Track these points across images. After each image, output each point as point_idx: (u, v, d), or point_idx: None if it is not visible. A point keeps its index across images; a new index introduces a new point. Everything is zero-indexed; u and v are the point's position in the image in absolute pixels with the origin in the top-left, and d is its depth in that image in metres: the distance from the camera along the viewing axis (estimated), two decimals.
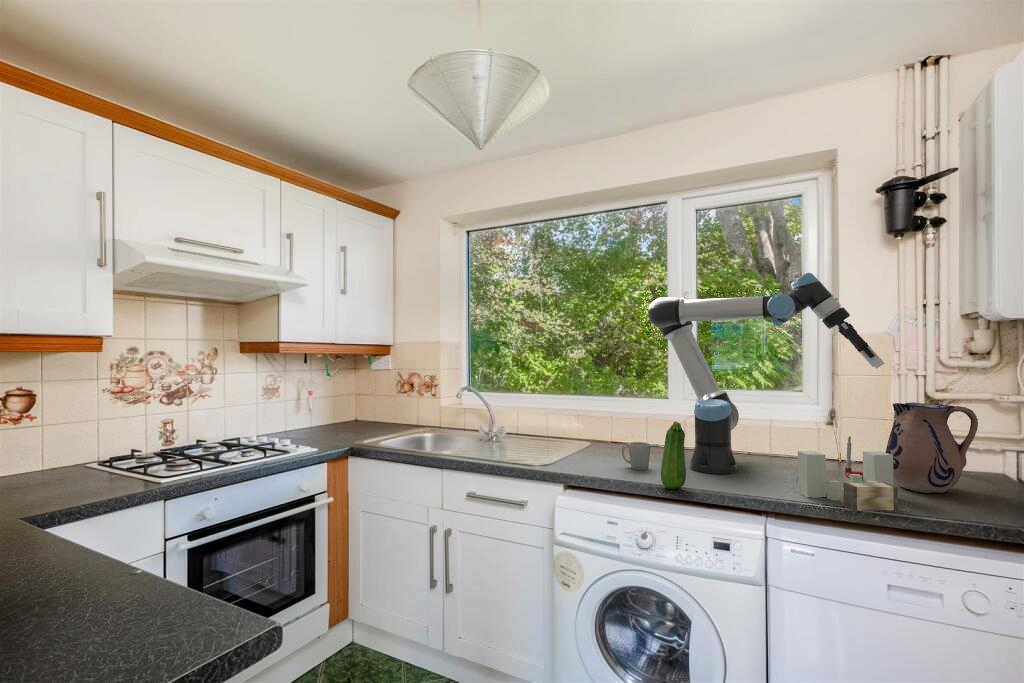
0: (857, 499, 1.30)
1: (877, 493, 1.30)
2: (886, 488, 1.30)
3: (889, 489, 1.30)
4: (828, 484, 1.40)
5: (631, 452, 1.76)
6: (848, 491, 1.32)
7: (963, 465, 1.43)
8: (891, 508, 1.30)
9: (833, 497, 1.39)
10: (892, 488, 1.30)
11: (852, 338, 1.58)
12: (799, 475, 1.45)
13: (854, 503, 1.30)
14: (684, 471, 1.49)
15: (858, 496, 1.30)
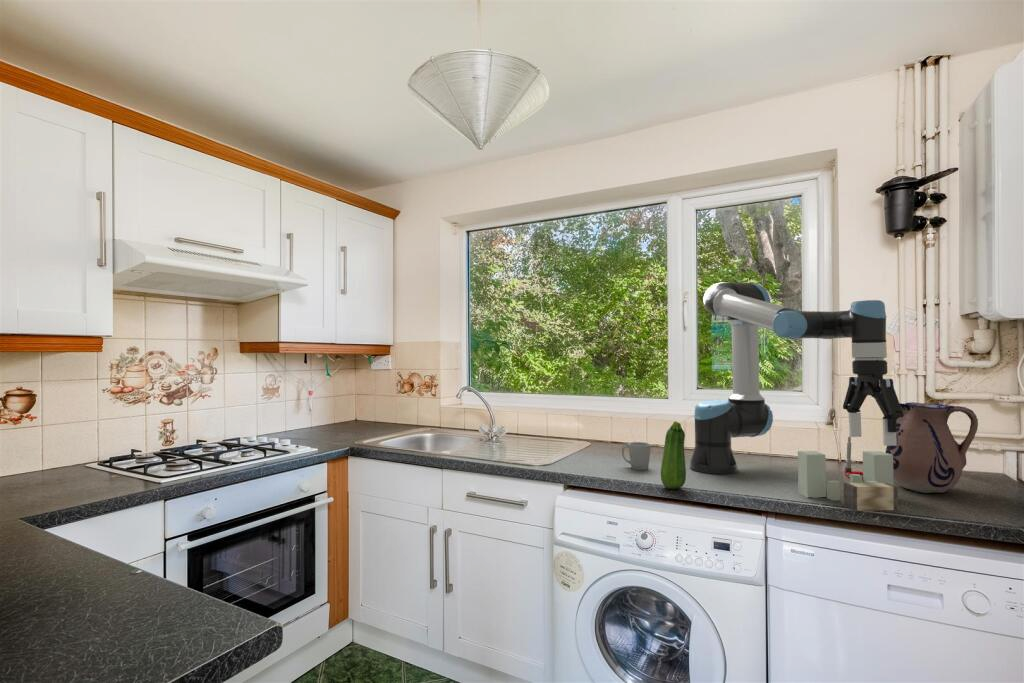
0: (857, 499, 1.30)
1: (877, 493, 1.30)
2: (886, 488, 1.30)
3: (889, 489, 1.30)
4: (828, 484, 1.40)
5: (631, 452, 1.76)
6: (848, 491, 1.32)
7: (963, 465, 1.43)
8: (891, 508, 1.30)
9: (833, 497, 1.39)
10: (892, 488, 1.30)
11: (890, 400, 1.25)
12: (799, 475, 1.45)
13: (854, 503, 1.30)
14: (684, 471, 1.49)
15: (858, 496, 1.30)
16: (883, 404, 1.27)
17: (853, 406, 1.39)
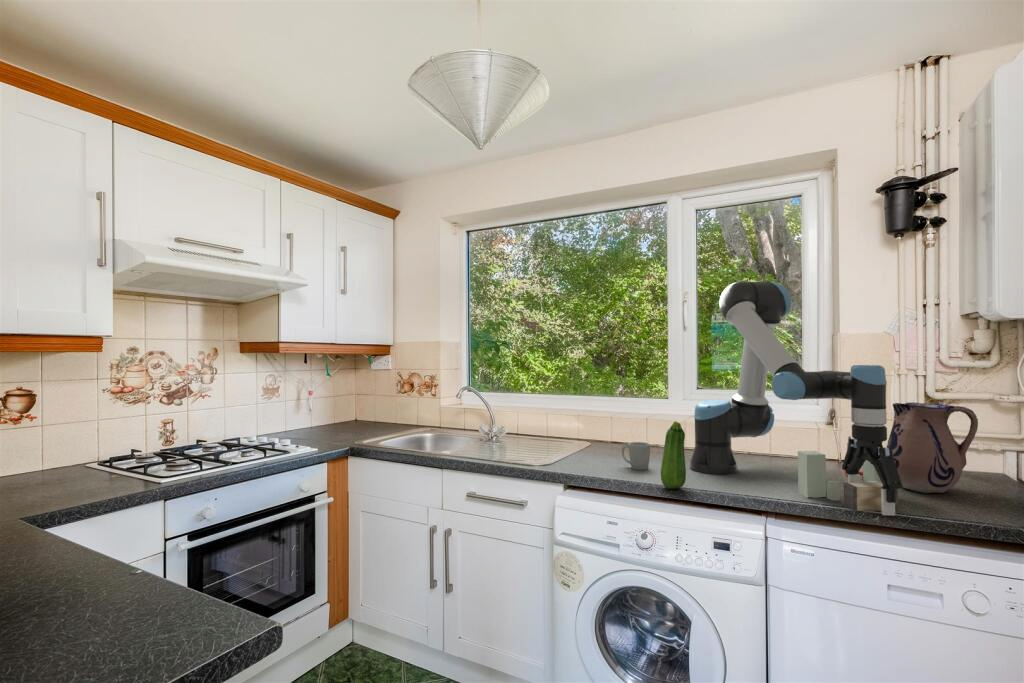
0: (857, 499, 1.30)
1: (877, 493, 1.30)
2: None
3: None
4: (828, 484, 1.40)
5: (631, 452, 1.76)
6: (848, 491, 1.32)
7: (963, 465, 1.43)
8: None
9: (833, 497, 1.39)
10: None
11: (889, 471, 1.24)
12: (799, 475, 1.45)
13: (854, 503, 1.30)
14: (684, 471, 1.49)
15: (858, 496, 1.30)
16: (882, 473, 1.26)
17: (852, 468, 1.38)
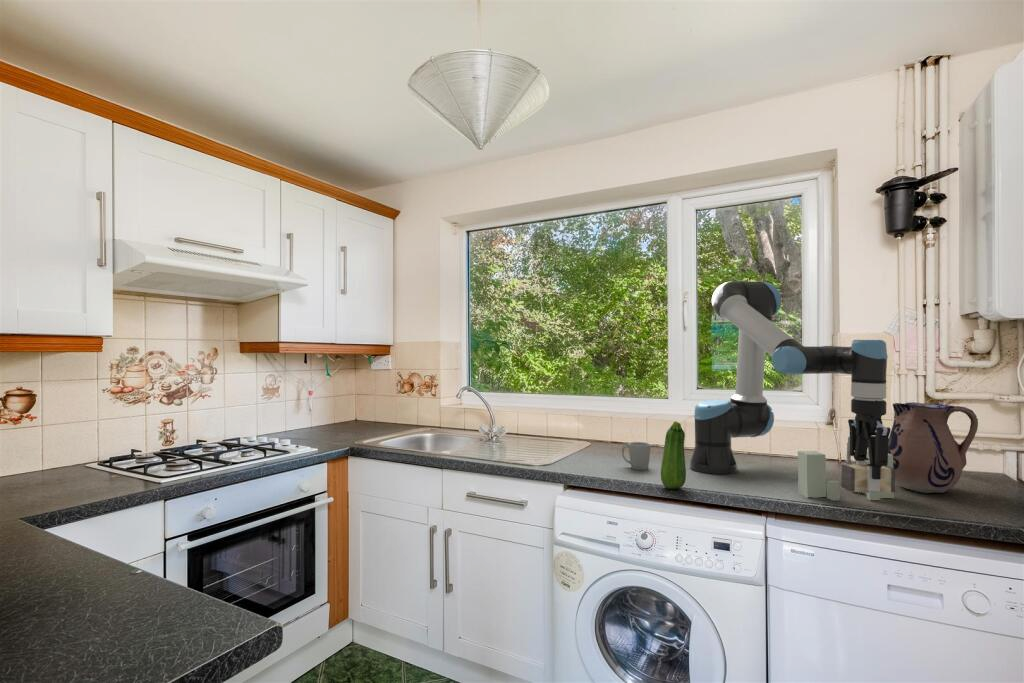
0: (855, 481, 1.31)
1: None
2: (884, 470, 1.30)
3: (887, 471, 1.30)
4: (828, 484, 1.40)
5: (631, 452, 1.76)
6: (846, 473, 1.33)
7: (963, 465, 1.43)
8: (888, 490, 1.30)
9: (833, 497, 1.39)
10: (890, 470, 1.30)
11: (879, 450, 1.27)
12: (799, 475, 1.45)
13: (852, 484, 1.31)
14: (684, 471, 1.49)
15: (856, 478, 1.31)
16: (872, 451, 1.29)
17: (859, 451, 1.35)
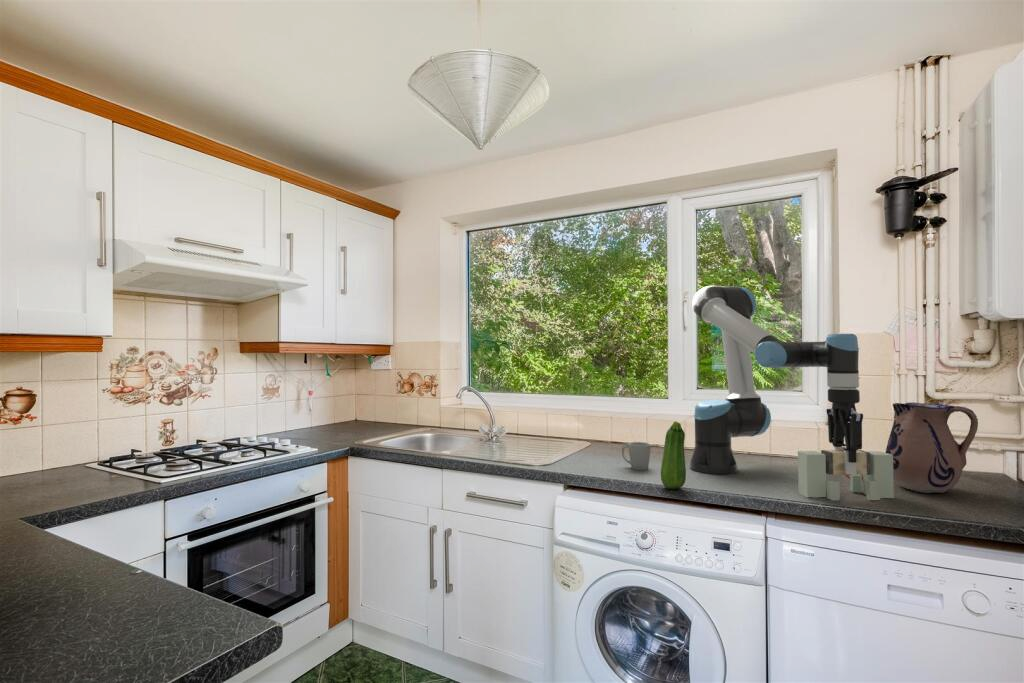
0: (833, 464, 1.41)
1: None
2: (860, 454, 1.41)
3: (862, 454, 1.41)
4: (828, 484, 1.40)
5: (631, 452, 1.76)
6: None
7: (963, 465, 1.43)
8: (864, 472, 1.41)
9: (833, 497, 1.39)
10: (865, 454, 1.41)
11: (854, 435, 1.37)
12: (799, 475, 1.45)
13: (830, 468, 1.41)
14: (684, 471, 1.49)
15: (834, 462, 1.41)
16: (848, 436, 1.40)
17: (837, 438, 1.45)
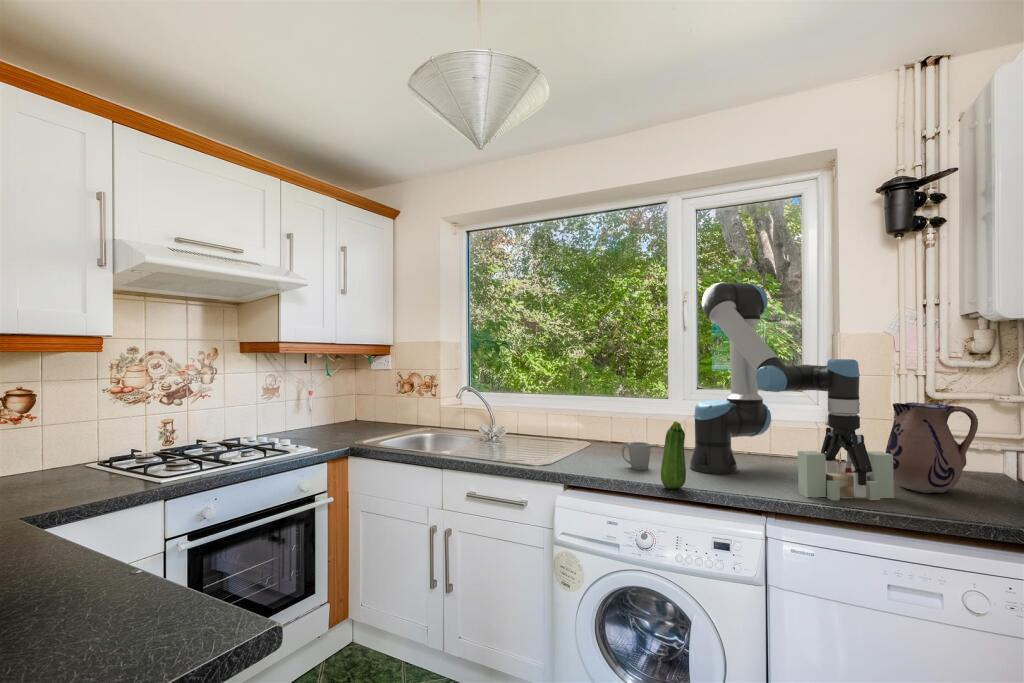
0: None
1: (852, 481, 1.41)
2: None
3: None
4: (828, 484, 1.40)
5: (631, 452, 1.76)
6: None
7: (963, 465, 1.43)
8: None
9: (833, 497, 1.39)
10: None
11: (860, 456, 1.35)
12: (799, 475, 1.45)
13: None
14: (684, 471, 1.49)
15: None
16: (854, 458, 1.37)
17: (829, 455, 1.49)
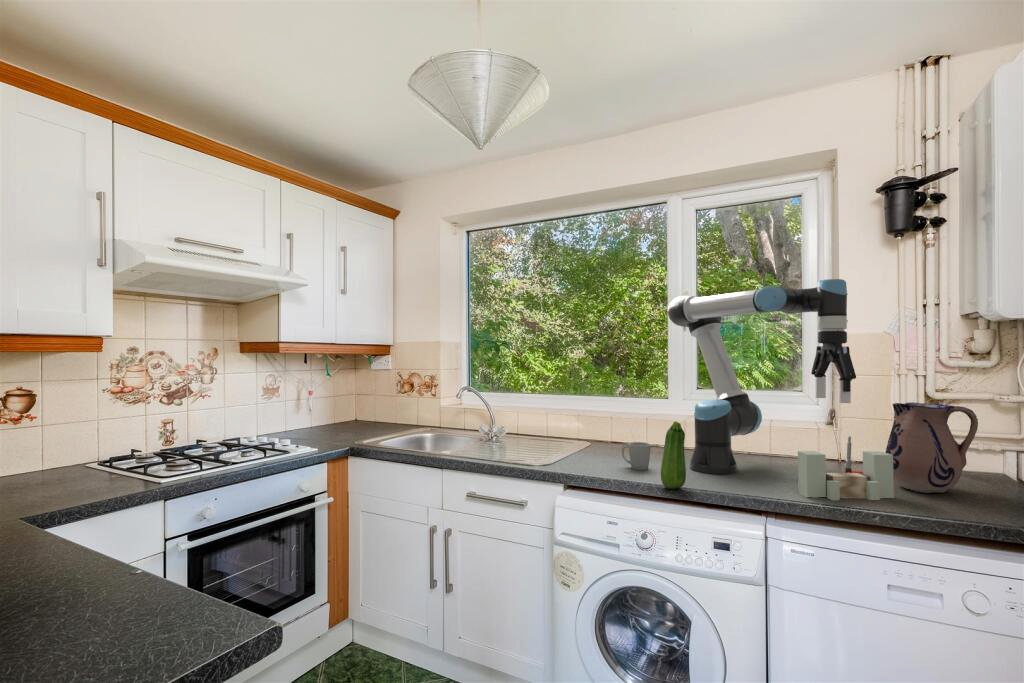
0: None
1: (852, 482, 1.41)
2: (860, 477, 1.41)
3: (862, 478, 1.41)
4: (828, 484, 1.40)
5: (631, 452, 1.76)
6: None
7: (963, 465, 1.43)
8: (864, 496, 1.41)
9: (833, 497, 1.39)
10: (865, 477, 1.41)
11: (845, 365, 1.46)
12: (799, 475, 1.45)
13: None
14: (684, 471, 1.49)
15: None
16: (840, 368, 1.48)
17: (819, 371, 1.60)
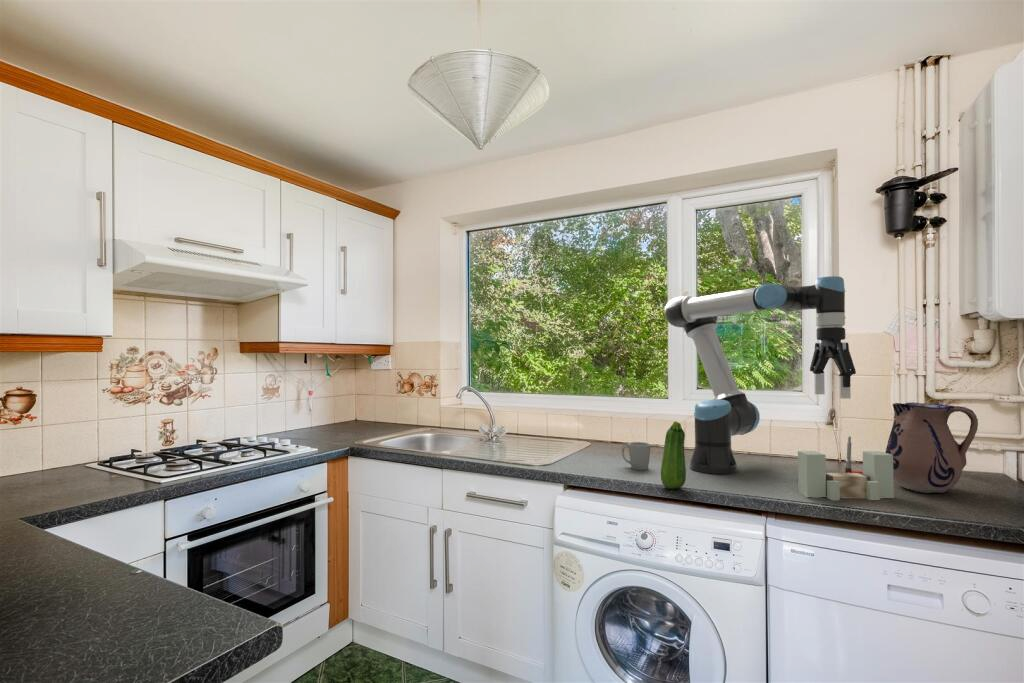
0: None
1: (852, 481, 1.41)
2: (860, 477, 1.41)
3: (862, 478, 1.41)
4: (828, 484, 1.40)
5: (631, 452, 1.76)
6: None
7: (963, 465, 1.43)
8: (864, 496, 1.41)
9: (833, 497, 1.39)
10: (865, 477, 1.41)
11: (845, 360, 1.48)
12: (799, 475, 1.45)
13: None
14: (684, 471, 1.49)
15: None
16: (840, 364, 1.50)
17: (818, 368, 1.62)
